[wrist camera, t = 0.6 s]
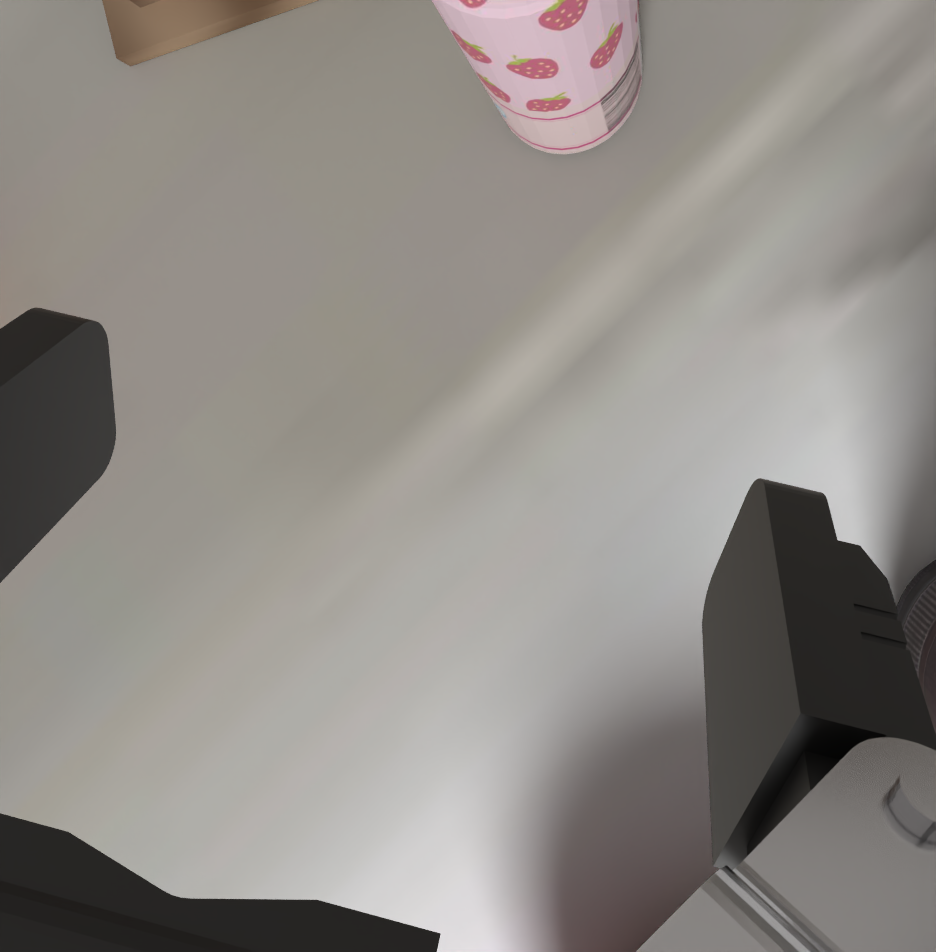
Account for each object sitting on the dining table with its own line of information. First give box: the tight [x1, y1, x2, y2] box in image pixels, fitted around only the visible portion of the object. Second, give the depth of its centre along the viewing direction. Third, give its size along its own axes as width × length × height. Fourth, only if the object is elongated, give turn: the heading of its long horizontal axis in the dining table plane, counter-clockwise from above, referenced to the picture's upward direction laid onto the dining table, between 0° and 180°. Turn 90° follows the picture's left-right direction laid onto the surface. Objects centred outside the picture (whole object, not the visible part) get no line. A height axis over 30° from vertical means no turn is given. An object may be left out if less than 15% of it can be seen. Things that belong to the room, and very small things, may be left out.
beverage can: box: [432, 0, 643, 154], centre depth 27 cm, size 6×6×15 cm
